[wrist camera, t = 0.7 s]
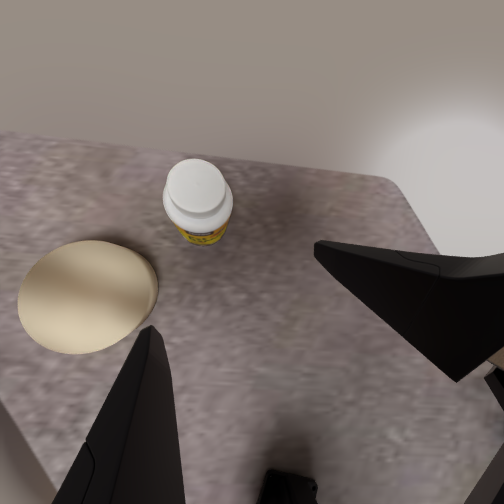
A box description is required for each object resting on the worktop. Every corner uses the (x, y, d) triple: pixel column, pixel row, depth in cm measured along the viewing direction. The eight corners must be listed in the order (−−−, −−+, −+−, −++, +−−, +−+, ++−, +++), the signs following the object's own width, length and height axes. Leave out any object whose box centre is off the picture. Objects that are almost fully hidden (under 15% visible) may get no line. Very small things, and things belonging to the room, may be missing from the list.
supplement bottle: (188, 253, 21) (167, 234, 11) (173, 210, 22) (140, 155, 12) (232, 239, 23) (248, 211, 13) (217, 198, 23) (221, 140, 13)
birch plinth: (130, 354, 19) (115, 369, 16) (26, 322, 17) (-12, 331, 14) (173, 266, 21) (167, 265, 18) (83, 230, 19) (60, 222, 16)
